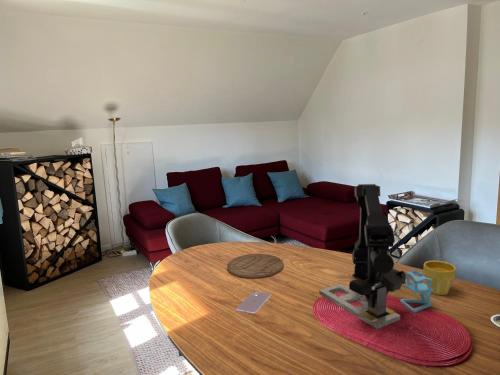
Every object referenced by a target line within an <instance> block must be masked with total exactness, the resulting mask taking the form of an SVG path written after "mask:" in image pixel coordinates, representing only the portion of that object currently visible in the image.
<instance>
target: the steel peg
mask: <svg viewBox="0 0 500 375" xmlns="http://www.w3.org/2000/svg"><path fill="white" fill-rule="evenodd" d="M386 289H387V288H386V287H385V286H384V285H382V284H381V283H380V284H377V285H375V290H376V291H378V292H377V293H376V294H375V300H374V308H371V307H370V305H369V303H368V314H370V315H372V316H374V317H375V318H377V319H379V318H382V317H384V316H386V307H387V296H386Z"/></svg>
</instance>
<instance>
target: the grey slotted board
mask: <svg viewBox="0 0 500 375" xmlns="http://www.w3.org/2000/svg"><path fill="white" fill-rule="evenodd" d="M338 292H340V293H343V294H342V295H340V296H338V295H335V293H338ZM318 293H319V295H320V296H322V297H323V298H325V299H327V300H328V299H329V300H328V301H330V302H331V303H333V302H334V303H333V304H335V305H336V306H338V305H339V306H338V307H340V306H341V307H340V308H342V309H343V308H344V309H343V310H345V311H347V312H348V313H350V314H352V315H353V316H355V317H356V316H357V318H358V319H360V320H362V321H363V322H365V323H367V324H368V325H370V326H371V327H373V328H375V329H376V330H378V329H382V328H383V327H386V326H389V325H390V324H393V323H396V322H398V321H400V320H401V314H398V313H396V312H395V310H393V309H390V308H388V306H386V316H383V317H381V318H378V319H377V318H375V317H374V316H372V315H370V314H368V301H367V299H366V297H365V295H360V294H358V293H356V292H354V291H352V290H350V289H349V286H348V287H347V286H346V285H344V284H341V283H338V284H334V285H332V286H328V287H326V288H321V289H319V292H318ZM344 293H345V294H344ZM356 300H357V301H356ZM353 302H359V303H360V304H362V303H363V304H362V305H359V306H355V305H353V304H351V303H353ZM364 304H365V305H364ZM388 324H389V325H388Z"/></svg>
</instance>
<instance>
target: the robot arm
mask: <svg viewBox="0 0 500 375" xmlns="http://www.w3.org/2000/svg"><path fill="white" fill-rule="evenodd" d="M354 197H355V198H356V202H357V205H358V206H359V229H358V230H359V232H358V233H359V234H358V235H359V236H358V239H357V241H355V243H354V248H353V249H352V254H351V255H352V256H351V259H352V263H353V265H354V271H353V272H354V273H353V274H351V276H352V277H354V278H356V279H353V280H350V281H349V284H348V288H349V289H350V290H352V291H354V292H356V293H358V294H360V295H363V296H365V297H366V299H367V301H368V303H369V305H370V307H371V308H374V300H375V294H376V293H377V292H378V291H376V290H375V285H377V284H380V283H381V284H382V285H384V286H385V287H386V288H387V289H386V297H387V296H388V294H389V292H390V293H393V292H396V291H398V290H401V288H402V285H404V284H405V283H407V278H406V273H407V272H405V271H404V270H398V269H395V268H394V266H395V261H394V259H393V257H392V255H391V253H390V252H389V248H393V247H395V246H394V243H395V241H396V239H395V234H394V229H393V227H392V224H390V222H389V219H388V217H387V216H386V215H384V213H383V212H382V211H383V210H382V207H381V202H380V198H379V197H381V186H379V185H377V184H375V183H368V184H367V183H366V184H365V183H364V184H360V183H359V184H358V185H356V186H355V187H354Z"/></svg>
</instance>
